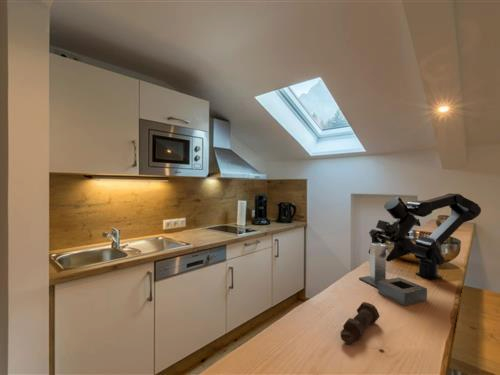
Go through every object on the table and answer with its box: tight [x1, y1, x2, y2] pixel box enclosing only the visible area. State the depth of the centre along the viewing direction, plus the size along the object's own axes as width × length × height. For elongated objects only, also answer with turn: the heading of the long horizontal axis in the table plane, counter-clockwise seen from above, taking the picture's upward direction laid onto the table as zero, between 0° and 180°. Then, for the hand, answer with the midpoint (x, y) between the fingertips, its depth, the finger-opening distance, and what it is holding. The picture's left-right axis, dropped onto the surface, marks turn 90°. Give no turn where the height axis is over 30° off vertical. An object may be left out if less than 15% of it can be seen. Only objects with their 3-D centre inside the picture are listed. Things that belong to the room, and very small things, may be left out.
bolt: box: [339, 301, 381, 345], centre depth 65 cm, size 6×5×15 cm
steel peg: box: [369, 242, 387, 283], centre depth 96 cm, size 4×4×14 cm
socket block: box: [377, 276, 428, 307], centre depth 84 cm, size 10×10×4 cm
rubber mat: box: [358, 275, 388, 289], centre depth 96 cm, size 9×9×1 cm
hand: (377, 257), depth 96 cm, fingers open, 9 cm apart
